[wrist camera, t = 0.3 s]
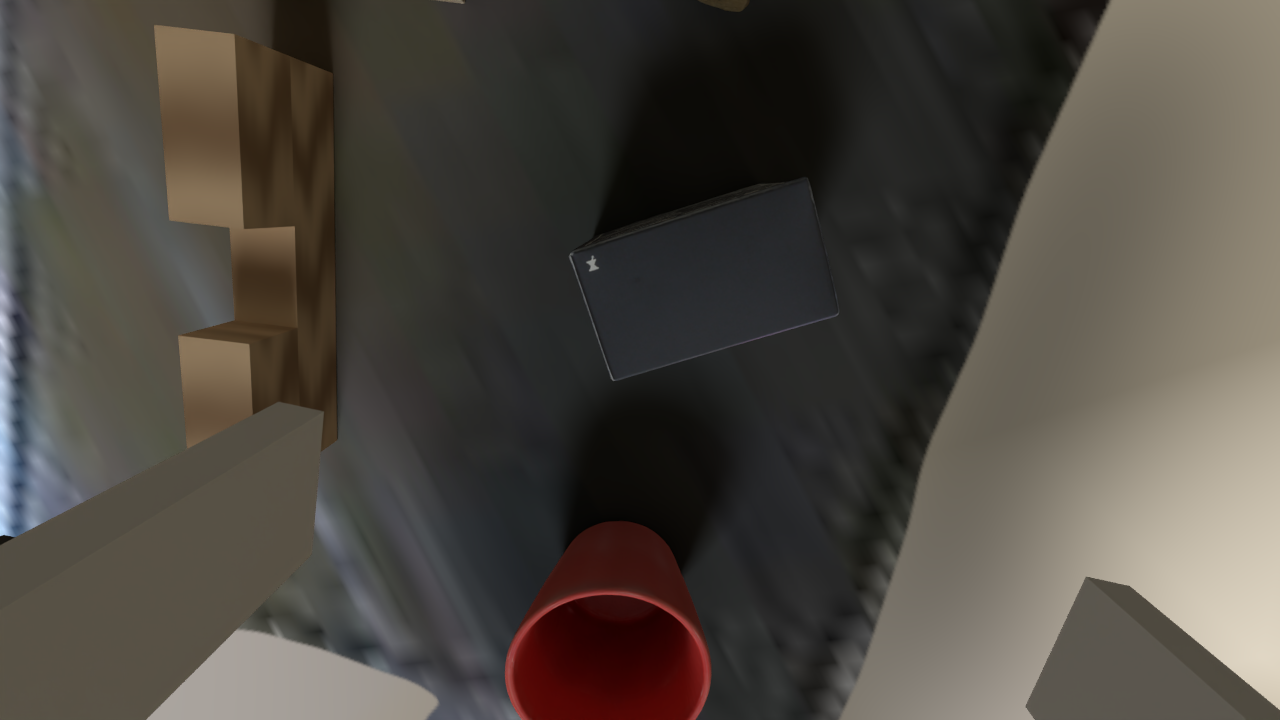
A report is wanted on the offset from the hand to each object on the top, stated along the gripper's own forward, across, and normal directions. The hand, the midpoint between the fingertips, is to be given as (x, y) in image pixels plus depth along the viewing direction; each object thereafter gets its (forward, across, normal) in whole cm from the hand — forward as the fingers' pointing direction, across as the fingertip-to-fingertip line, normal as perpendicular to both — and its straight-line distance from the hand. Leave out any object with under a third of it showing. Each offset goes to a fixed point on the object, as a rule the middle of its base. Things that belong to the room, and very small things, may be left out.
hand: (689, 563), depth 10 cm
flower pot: (+27, +1, -18) cm, 33 cm away
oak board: (+27, -22, -2) cm, 35 cm away
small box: (+27, +1, +3) cm, 27 cm away
